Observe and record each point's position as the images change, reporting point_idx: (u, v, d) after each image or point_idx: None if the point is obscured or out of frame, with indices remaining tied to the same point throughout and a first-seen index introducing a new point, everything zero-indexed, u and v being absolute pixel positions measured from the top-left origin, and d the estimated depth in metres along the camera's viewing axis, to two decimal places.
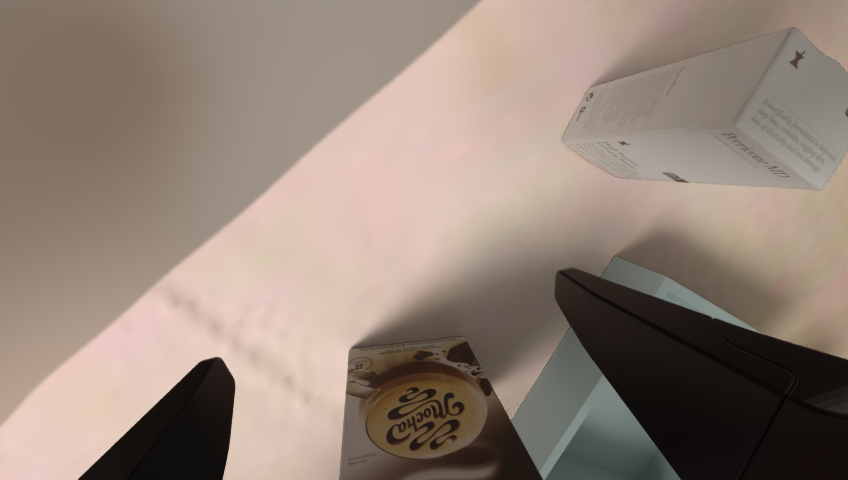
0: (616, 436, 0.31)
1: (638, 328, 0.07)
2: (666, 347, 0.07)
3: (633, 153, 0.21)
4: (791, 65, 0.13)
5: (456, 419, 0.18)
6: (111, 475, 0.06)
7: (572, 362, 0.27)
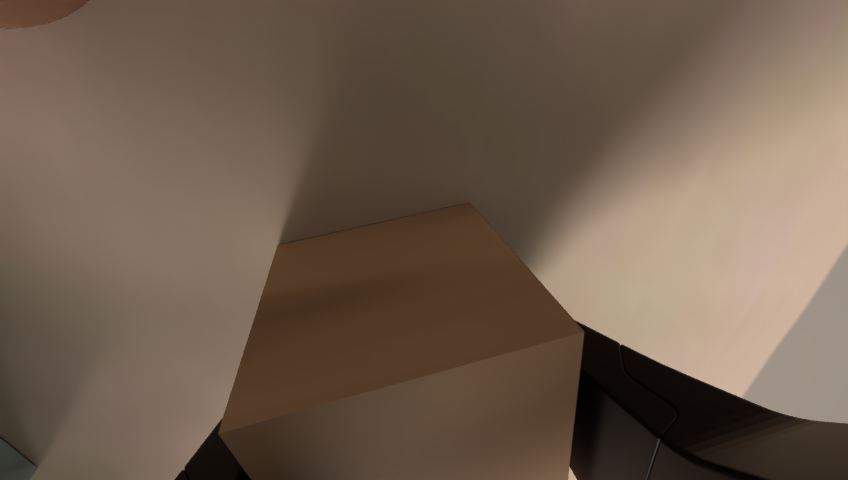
0: None
1: None
2: None
3: None
4: None
5: None
6: None
7: None
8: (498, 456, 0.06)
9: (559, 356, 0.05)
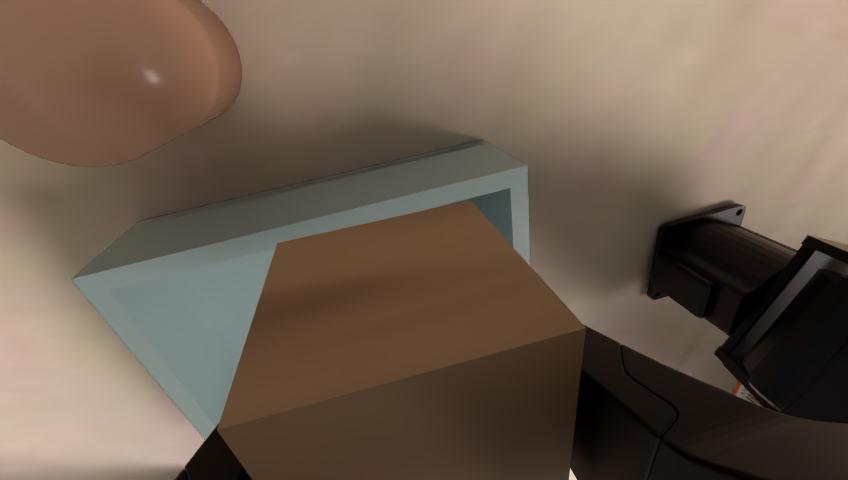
0: None
1: None
2: None
3: None
4: None
5: None
6: None
7: None
8: (498, 454, 0.06)
9: (560, 353, 0.05)
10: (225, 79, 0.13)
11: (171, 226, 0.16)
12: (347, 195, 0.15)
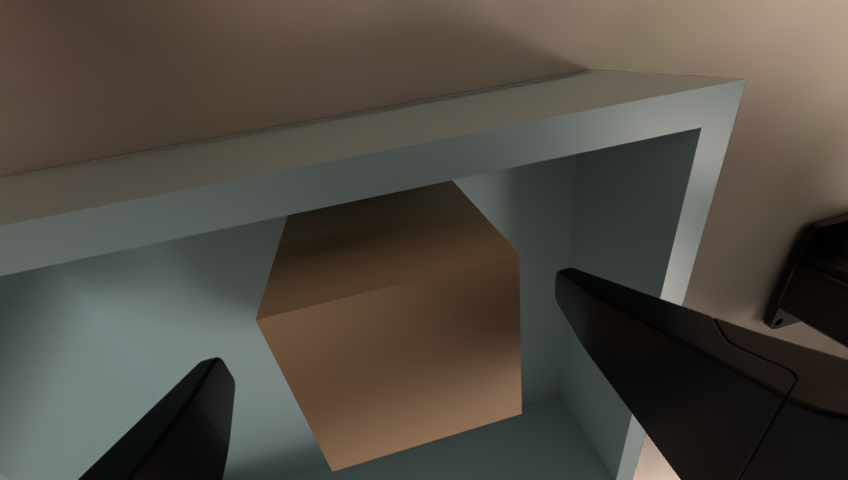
0: None
1: (638, 328, 0.07)
2: (666, 347, 0.07)
3: None
4: None
5: None
6: (111, 475, 0.06)
7: None
8: (462, 359, 0.08)
9: (502, 273, 0.07)
10: None
11: (20, 186, 0.08)
12: (371, 133, 0.08)
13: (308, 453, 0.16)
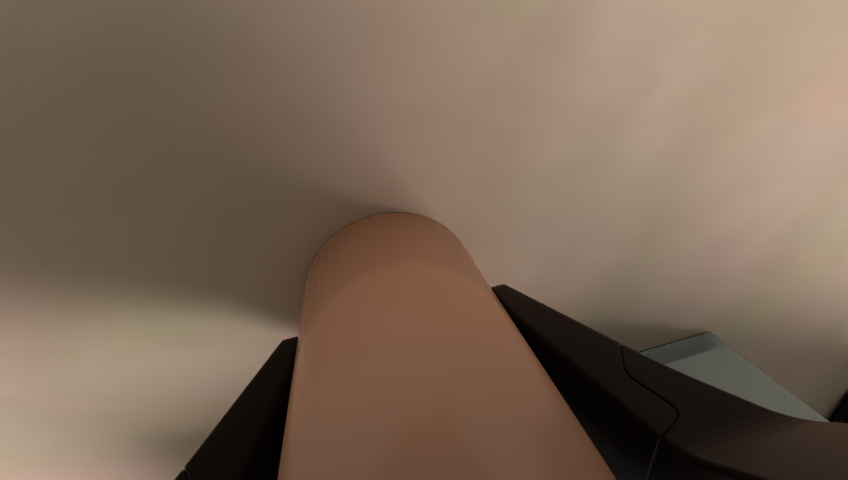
0: None
1: (549, 353, 0.07)
2: (570, 375, 0.06)
3: None
4: None
5: None
6: (236, 440, 0.06)
7: None
8: None
9: None
10: None
11: None
12: None
13: None
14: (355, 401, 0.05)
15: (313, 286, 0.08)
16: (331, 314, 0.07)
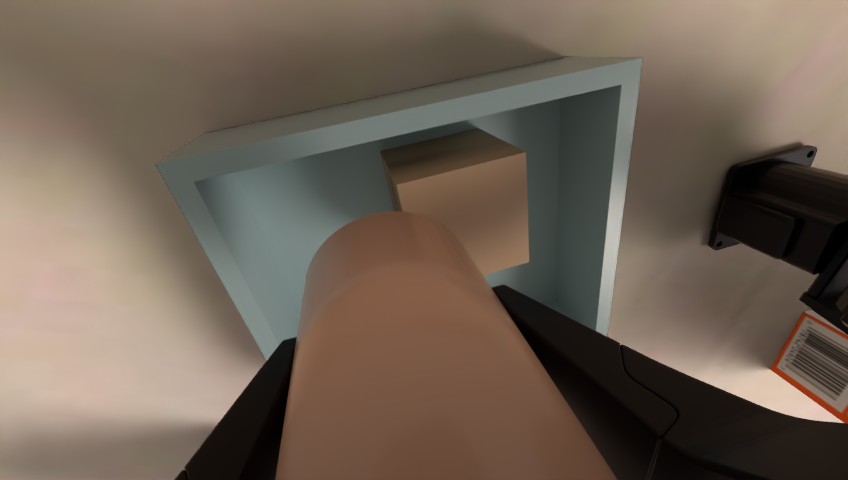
0: None
1: (549, 353, 0.07)
2: (570, 375, 0.06)
3: None
4: None
5: None
6: (236, 440, 0.06)
7: None
8: (495, 218, 0.14)
9: (517, 163, 0.13)
10: None
11: (248, 130, 0.14)
12: (443, 94, 0.14)
13: None
14: (354, 399, 0.05)
15: (312, 285, 0.08)
16: (330, 312, 0.07)
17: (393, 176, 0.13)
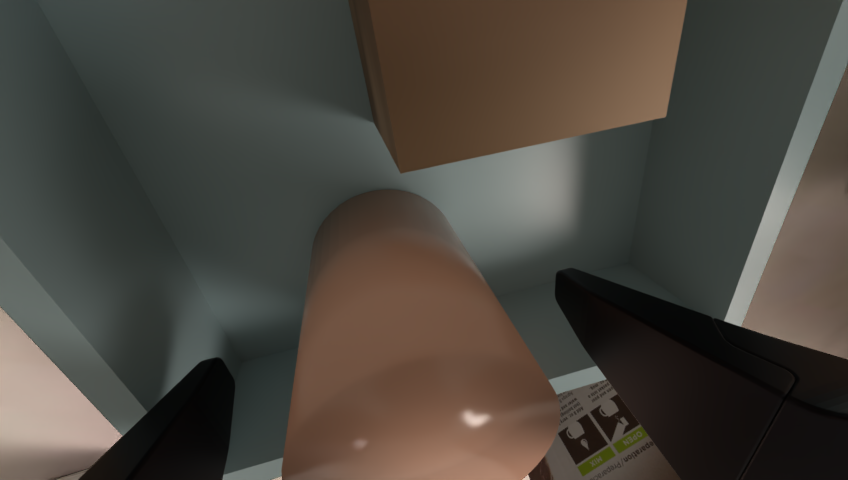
0: None
1: (638, 328, 0.07)
2: (666, 347, 0.07)
3: None
4: None
5: None
6: (111, 475, 0.06)
7: None
8: None
9: None
10: None
11: None
12: None
13: None
14: (351, 314, 0.06)
15: (318, 248, 0.10)
16: (334, 264, 0.08)
17: None
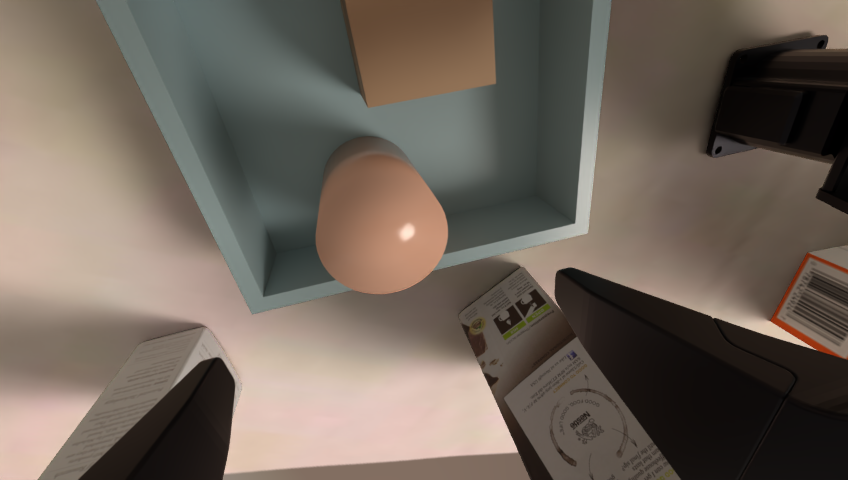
0: None
1: (638, 328, 0.07)
2: (666, 347, 0.07)
3: None
4: None
5: None
6: (111, 475, 0.06)
7: None
8: (454, 9, 0.12)
9: None
10: None
11: None
12: None
13: None
14: (346, 173, 0.13)
15: (328, 166, 0.17)
16: (337, 165, 0.15)
17: None
